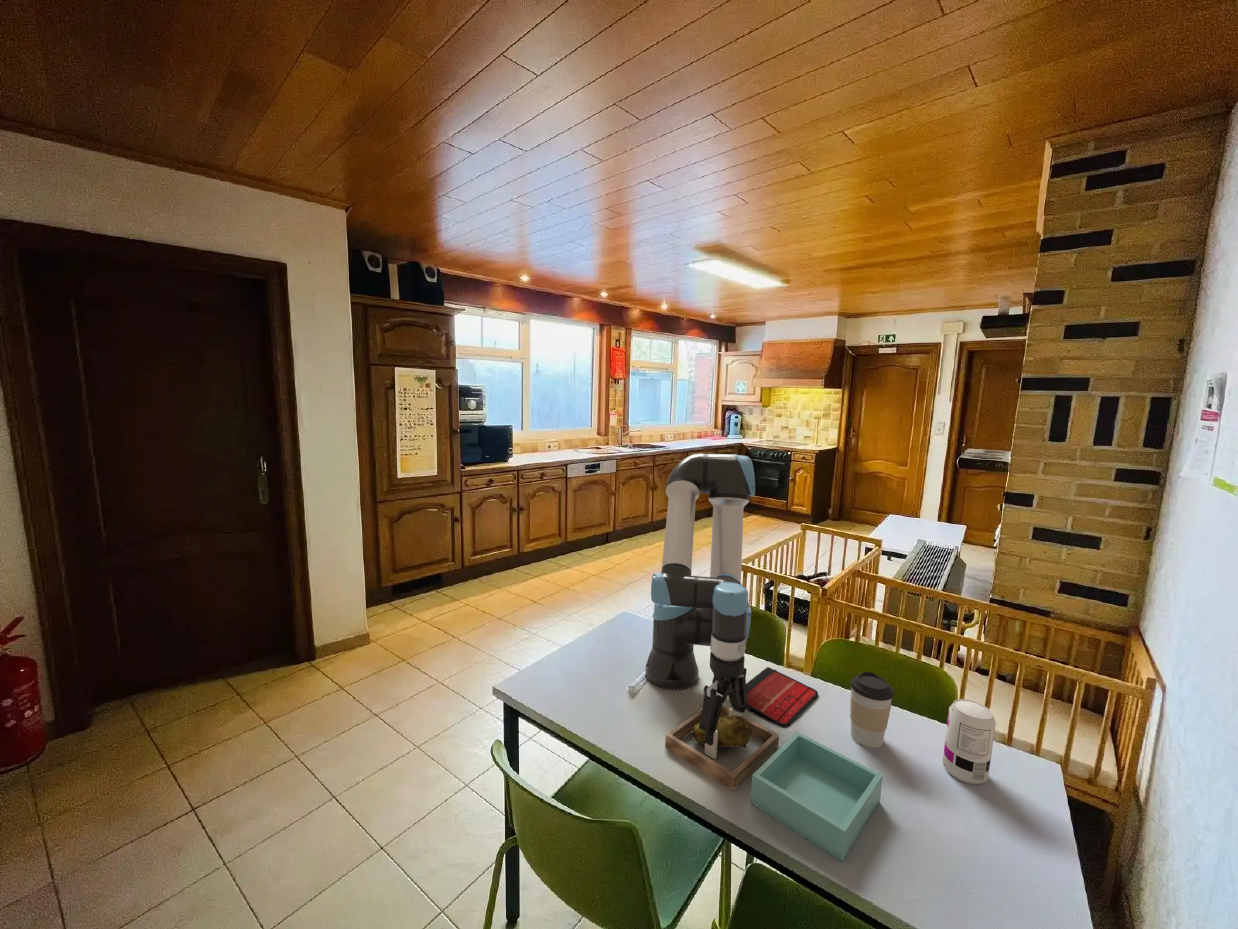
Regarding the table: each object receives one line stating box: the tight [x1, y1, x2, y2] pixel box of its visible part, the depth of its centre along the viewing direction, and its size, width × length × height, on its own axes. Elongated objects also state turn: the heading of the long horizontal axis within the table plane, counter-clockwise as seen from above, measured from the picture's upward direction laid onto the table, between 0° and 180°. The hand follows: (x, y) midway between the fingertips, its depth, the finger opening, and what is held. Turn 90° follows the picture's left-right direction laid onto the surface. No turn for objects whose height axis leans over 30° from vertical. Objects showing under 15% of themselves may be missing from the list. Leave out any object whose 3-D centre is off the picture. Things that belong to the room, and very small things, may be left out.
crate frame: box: [664, 705, 780, 791], centre depth 117 cm, size 18×19×3 cm
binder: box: [729, 666, 819, 728], centre depth 137 cm, size 16×2×21 cm
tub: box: [750, 731, 884, 863], centre depth 102 cm, size 18×19×6 cm
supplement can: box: [942, 698, 997, 785], centre depth 110 cm, size 8×8×15 cm
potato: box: [691, 715, 752, 749], centre depth 117 cm, size 8×13×8 cm, turn 53°
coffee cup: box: [849, 671, 894, 748], centre depth 121 cm, size 9×9×15 cm
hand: (722, 745), depth 117 cm, fingers closed on potato, 8 cm apart
